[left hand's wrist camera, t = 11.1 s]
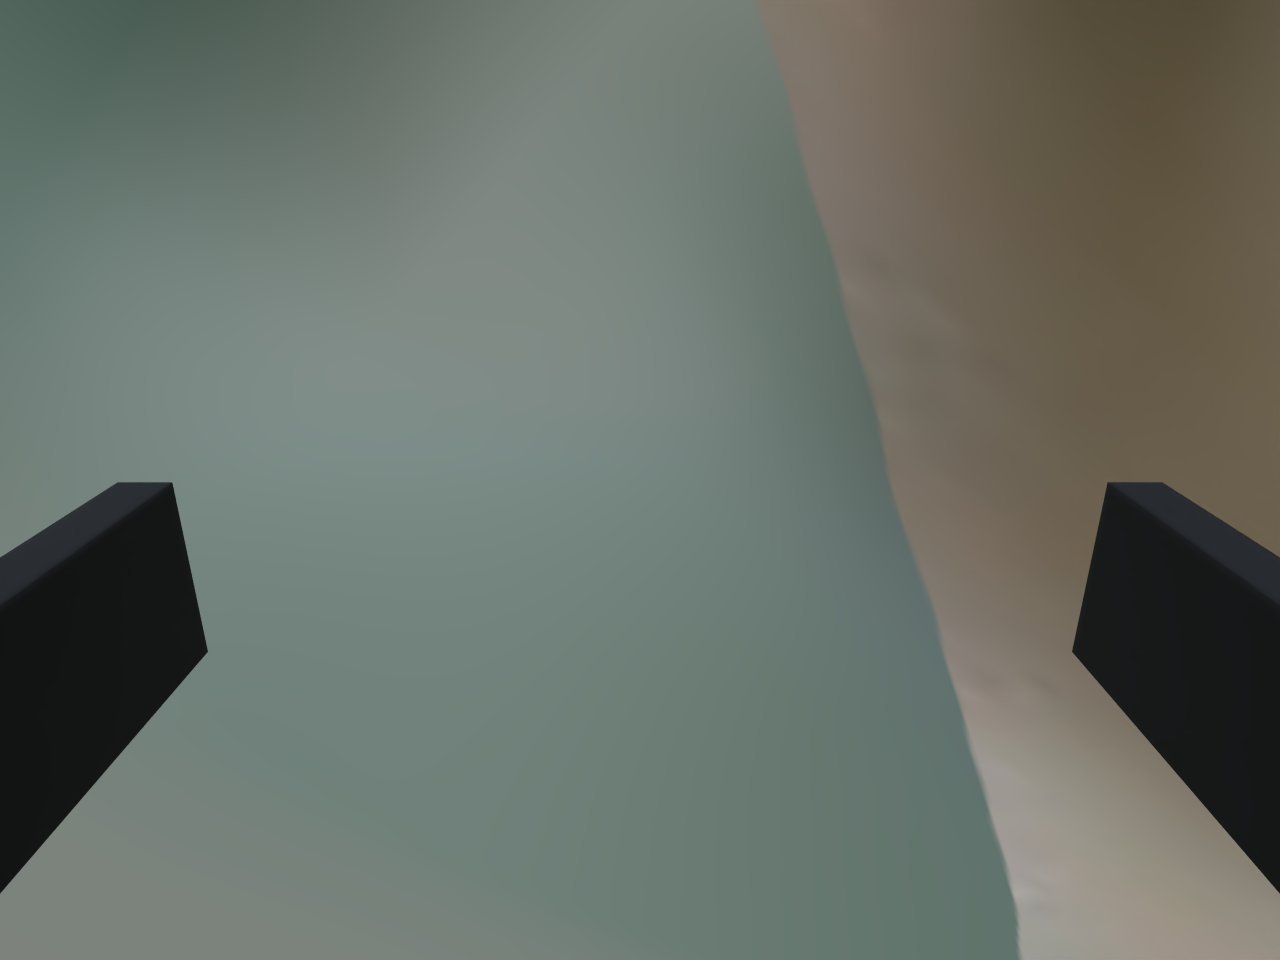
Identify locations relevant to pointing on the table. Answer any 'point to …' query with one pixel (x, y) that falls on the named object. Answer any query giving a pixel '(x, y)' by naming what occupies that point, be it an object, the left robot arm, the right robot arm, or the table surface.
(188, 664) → the left robot arm
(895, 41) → the table surface
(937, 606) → the table surface
